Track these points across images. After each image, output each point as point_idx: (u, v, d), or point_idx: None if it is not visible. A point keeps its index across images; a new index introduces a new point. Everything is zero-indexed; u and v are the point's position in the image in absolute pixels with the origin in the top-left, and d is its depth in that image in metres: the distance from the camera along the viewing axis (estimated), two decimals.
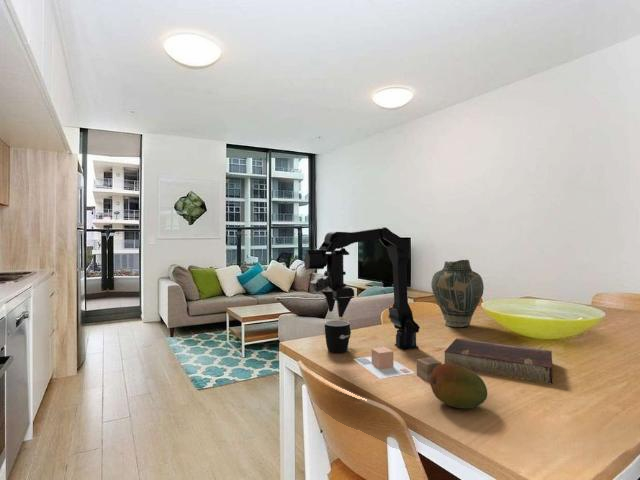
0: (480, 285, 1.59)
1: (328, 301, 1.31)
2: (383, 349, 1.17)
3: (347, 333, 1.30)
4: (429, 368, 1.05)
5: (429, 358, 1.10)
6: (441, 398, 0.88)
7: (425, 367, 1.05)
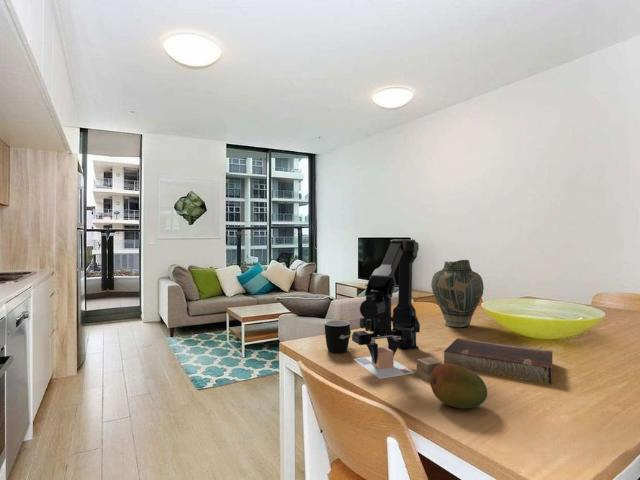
0: (480, 285, 1.59)
1: None
2: (383, 349, 1.17)
3: (347, 333, 1.30)
4: (429, 368, 1.05)
5: (429, 358, 1.10)
6: (441, 398, 0.88)
7: (425, 367, 1.05)
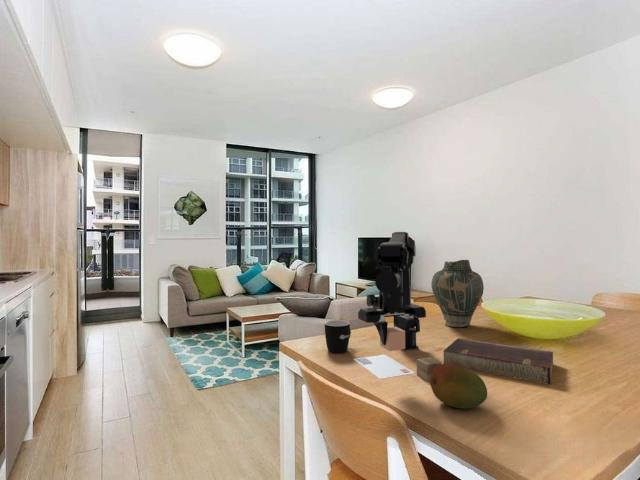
0: (480, 285, 1.59)
1: None
2: (393, 329, 1.04)
3: (347, 333, 1.30)
4: (429, 368, 1.05)
5: (429, 358, 1.10)
6: (441, 398, 0.88)
7: (425, 367, 1.05)
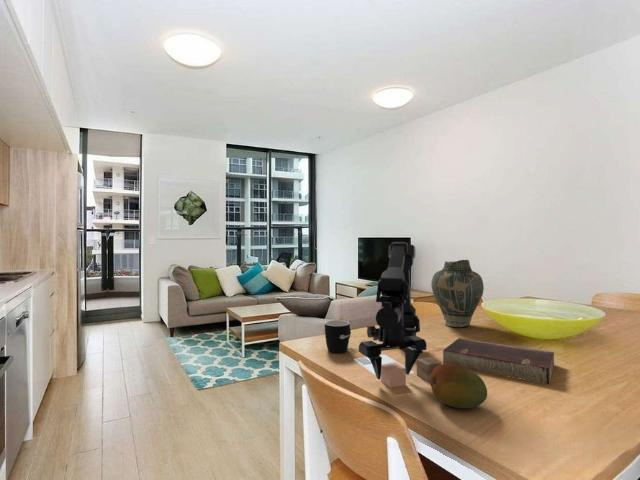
0: (480, 285, 1.59)
1: (405, 360, 1.06)
2: (393, 366, 1.04)
3: (347, 333, 1.30)
4: (429, 368, 1.05)
5: (429, 358, 1.10)
6: (441, 398, 0.88)
7: (425, 367, 1.05)
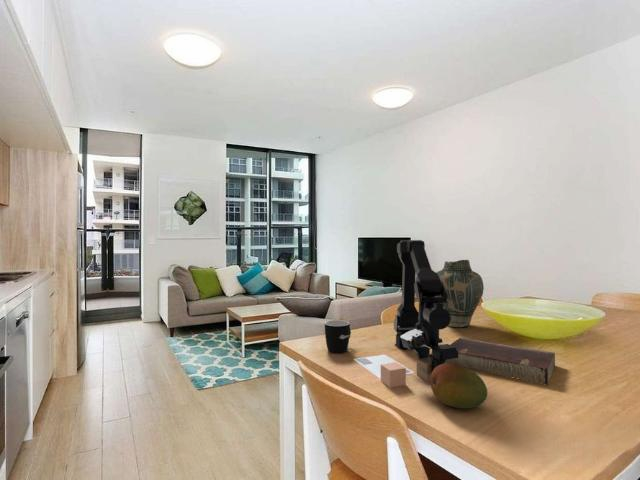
0: (480, 285, 1.59)
1: None
2: (393, 366, 1.04)
3: (347, 333, 1.30)
4: (429, 367, 1.05)
5: (429, 358, 1.10)
6: (441, 398, 0.88)
7: (425, 367, 1.05)
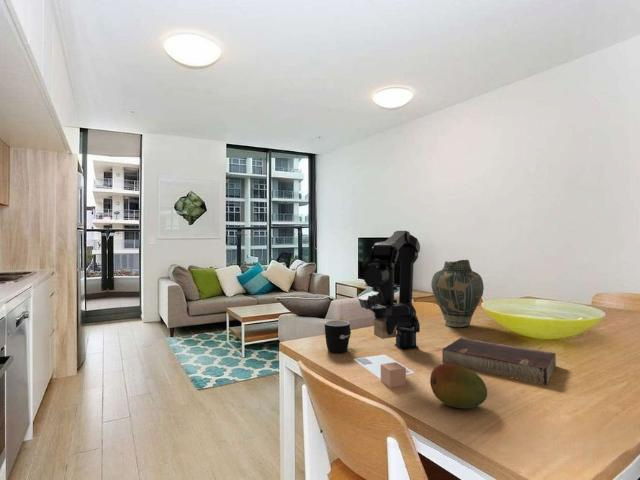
0: (480, 285, 1.59)
1: None
2: (393, 366, 1.04)
3: (347, 333, 1.30)
4: (384, 325, 1.14)
5: None
6: (441, 398, 0.88)
7: (381, 325, 1.14)
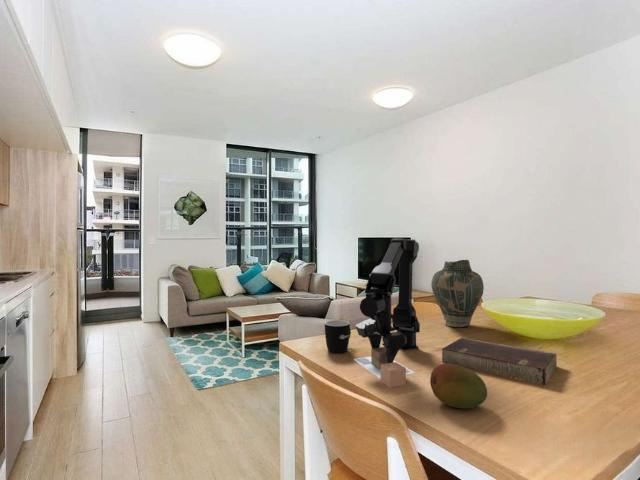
0: (480, 285, 1.59)
1: (373, 344, 1.21)
2: (393, 366, 1.04)
3: (347, 333, 1.30)
4: (381, 356, 1.14)
5: (383, 347, 1.19)
6: (441, 398, 0.88)
7: (378, 355, 1.15)
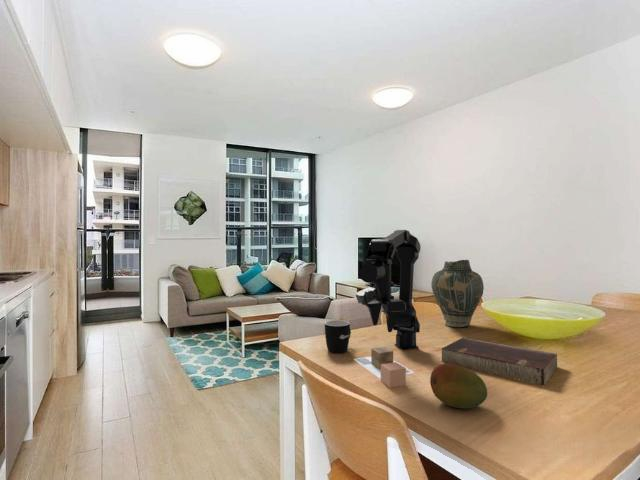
0: (480, 285, 1.59)
1: (372, 314, 1.21)
2: (393, 366, 1.04)
3: (347, 333, 1.30)
4: (381, 356, 1.14)
5: (383, 347, 1.19)
6: (441, 398, 0.88)
7: (378, 355, 1.15)
